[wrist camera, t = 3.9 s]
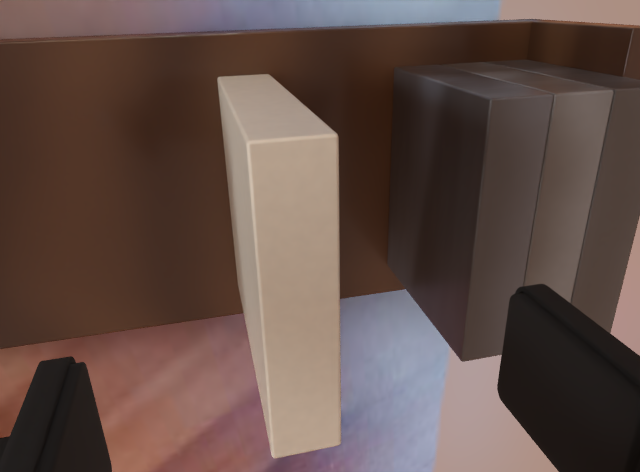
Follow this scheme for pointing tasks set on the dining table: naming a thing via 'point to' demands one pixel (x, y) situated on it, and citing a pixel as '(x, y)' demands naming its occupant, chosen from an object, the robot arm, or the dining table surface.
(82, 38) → the book rack
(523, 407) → the robot arm
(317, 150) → the beige book
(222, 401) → the dining table surface
